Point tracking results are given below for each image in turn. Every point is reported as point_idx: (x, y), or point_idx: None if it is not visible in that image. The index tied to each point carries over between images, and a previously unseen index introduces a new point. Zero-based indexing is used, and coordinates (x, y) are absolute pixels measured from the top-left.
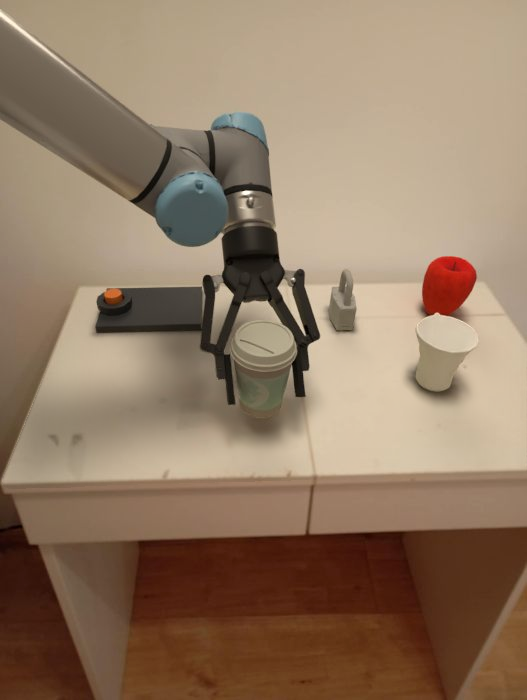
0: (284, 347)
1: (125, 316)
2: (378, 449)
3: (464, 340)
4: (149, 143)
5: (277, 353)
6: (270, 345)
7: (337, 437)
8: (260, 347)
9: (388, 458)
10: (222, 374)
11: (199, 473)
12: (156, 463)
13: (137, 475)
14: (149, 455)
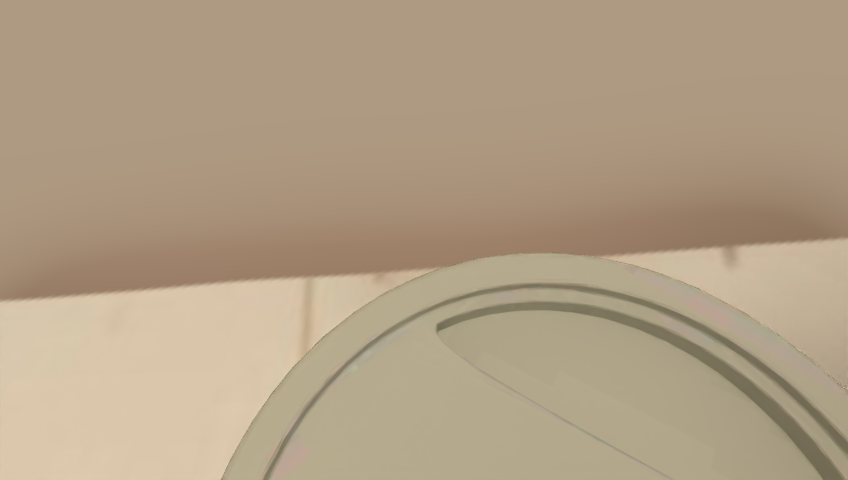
0: (324, 431)
1: None
2: (85, 369)
3: None
4: None
5: (406, 305)
6: (482, 460)
7: (202, 415)
8: (590, 436)
9: (72, 336)
10: None
11: (635, 260)
12: (775, 285)
13: (807, 246)
14: (813, 312)
